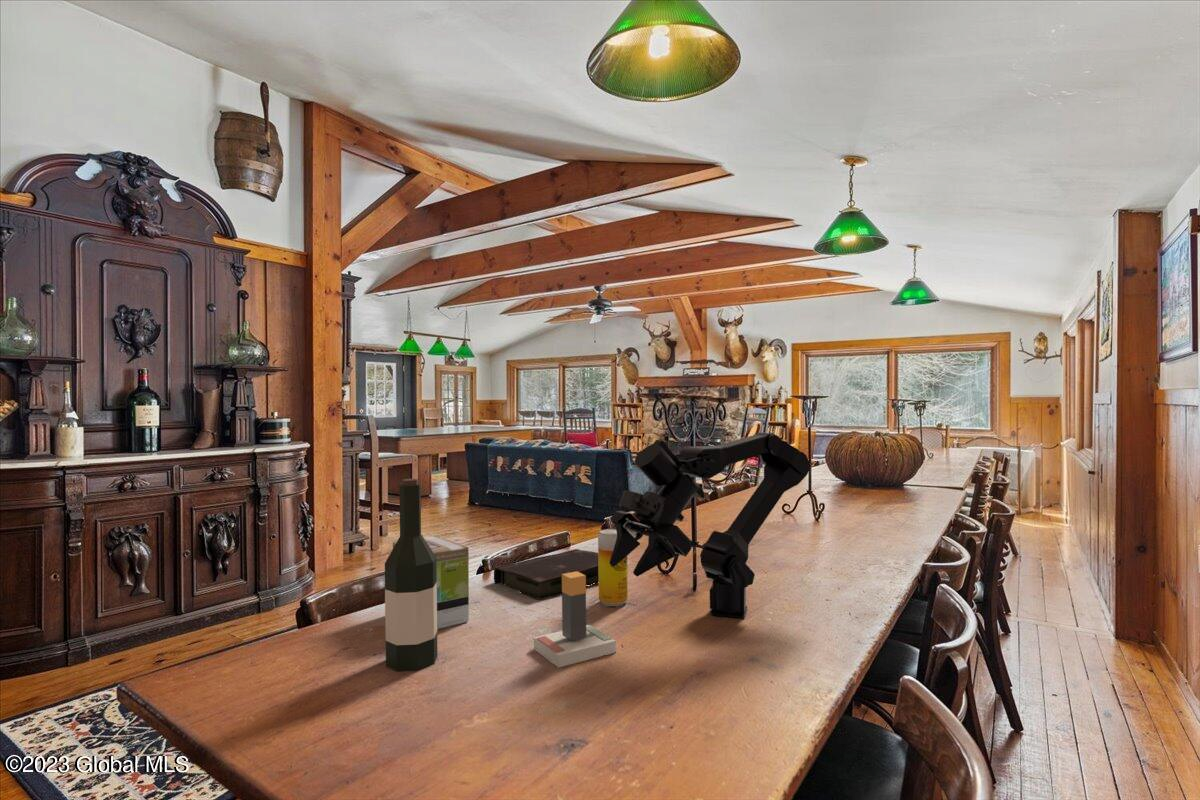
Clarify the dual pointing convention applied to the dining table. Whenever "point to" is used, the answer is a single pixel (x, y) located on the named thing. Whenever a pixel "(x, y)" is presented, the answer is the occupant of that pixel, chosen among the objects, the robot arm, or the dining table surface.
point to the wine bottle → (410, 590)
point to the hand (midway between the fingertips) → (622, 569)
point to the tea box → (450, 581)
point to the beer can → (611, 571)
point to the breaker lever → (574, 605)
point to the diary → (547, 572)
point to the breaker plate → (574, 647)
